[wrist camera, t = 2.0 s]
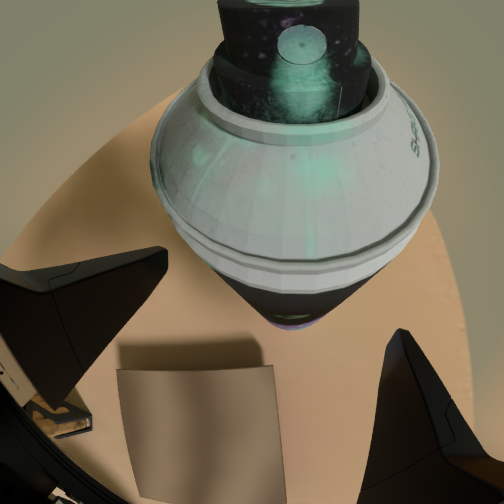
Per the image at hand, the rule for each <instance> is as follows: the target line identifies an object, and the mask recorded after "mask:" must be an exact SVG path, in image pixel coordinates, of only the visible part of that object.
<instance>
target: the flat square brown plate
mask: <svg viewBox="0 0 504 504" xmlns="http://www.w3.org/2000/svg"><path fill="white" fill-rule="evenodd" d="M116 372H117V382H118V391H119V399H120V406H121V413H122V420H123V426H124V431H125V437H126V442H127V447H128V452H129V456H130V461H131V465H132V469H133V473H134V477H135V481H136V484H137V488H138V491H139V495H140V497H143V498H147V499H152V500H156V501H161V502H167V503H172V504H287V497H286V486H285V476H284V465H283V455H282V445H281V435H280V425H279V415H278V406H277V396H276V387H275V377H274V368H273V365H266V366H255V367H243V368H229V369H209V370H138V369H116Z"/></svg>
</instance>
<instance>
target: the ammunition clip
mask: <svg viewBox="0 0 504 504" xmlns="http://www.w3.org/2000/svg"><path fill="white" fill-rule="evenodd" d="M31 400H32V402H33V421H34V422H35V423H36V424H37V425H38V426H39V427H40V428H41V429H42V430H43V431H44V432H45V433H46V434H47V435H48V437H54V438H56V439H60V438H64V437H69V436H73V435H77V434H81V433H85V432H89V431H92V414H90V413H88V412H86V411H83V410H81V409H79V408H77V407H75V406H73V405H71V404H69V403H67V402H65V401H63V402H62V403H61V405H60V406H59V407H58V409H57V410H56V411H53V410H52V409H51V408H50V407H49V406H48V405H47V404H46V403H45V402H44V401H43V399H42V398H41V397H40V396H39V395H38V394H37V393H36V394H35V395H34V396H33V397H32V398H31Z"/></svg>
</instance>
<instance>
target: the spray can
mask: <svg viewBox="0 0 504 504" xmlns="http://www.w3.org/2000/svg"><path fill="white" fill-rule="evenodd" d="M217 4H218V9H219V14H220V19H221V24H222V30H223V35H224V41H222V42H221V43H220V45H219V46H218V47H217V49H216V50H215V53H214V56H213V57H212V58H210V59H209V60H208V61H207V62H206V64H205V65H204V67H203V68H202V70H201V71H200V74H199V77H198V78H196V79H195V80H194V81H193V82H191V83H190V84H189V85H188V86H186V87H185V88H184V89H183V90H182V91H181V92H180V93H179V94H178V95H177V96H176V97H175V99H174V100H173V101H172V102H171V103H170V104H169V106H168V107H167V109H166V111H165V112H164V114H163V115H162V117H161V119H160V121H159V122H158V125H157V127H156V130H155V133H154V136H153V139H152V142H151V152H150V169H151V175H152V181H153V186H154V188H155V190H156V192H157V194H158V197H159V199H160V201H161V203H162V205H163V207H164V208H165V210H166V211H167V212H168V214H169V216H170V218H171V220H172V222H173V224H174V226H175V228H176V230H177V232H178V233H179V234H180V235H181V236H182V238H183V239H184V240H185V241H186V242H187V244H188V245H189V246H190V247H191V248H192V250H193V251H194V252H195V253H196V254H197V255H198V256H199V257H200V258H201V259H202V260H203V261H204V262H205V263H206V264H208V265H209V266H210V267H211V268H212V269H213V270H214V271H215V272H216V273H217V274H218V275H219V276H220V277H221V278H222V279H223V280H224V281H225V282H226V283H227V284H228V285H230V286H231V287H232V288H233V289H234V290H235V291H236V292H237V293H238V294H239V295H240V296H241V297H242V298H243V299H244V300H246V301H247V302H248V303H249V304H250V305H251V306H252V307H253V308H254V309H255V310H256V311H257V312H259V313H260V314H261V315H262V316H263V317H264V318H265V319H266V320H267V321H268V322H270V323H271V324H273V325H274V326H276V327H278V328H280V329H284V330H301V329H305V328H307V327H310V326H311V325H313V324H314V323H316V322H317V321H318V320H320V319H321V318H322V317H324V316H325V315H326V314H328V313H329V312H330V311H332V310H333V309H334V308H335V307H337V306H338V305H339V304H340V303H342V302H343V301H344V300H345V299H347V298H348V297H349V296H350V295H352V294H353V293H354V292H355V291H357V290H358V289H359V288H360V287H361V286H363V285H364V284H365V283H366V282H367V281H368V280H370V279H371V278H372V277H373V276H374V275H375V274H377V273H378V272H379V271H380V270H381V269H382V268H384V267H385V266H386V265H387V264H388V263H389V262H390V261H391V260H392V259H394V258H395V257H396V256H397V255H398V254H399V253H400V252H401V251H402V249H403V248H404V247H405V246H406V244H407V243H408V242H409V240H410V239H411V238H412V237H413V235H414V234H415V233H416V231H417V228H418V226H419V224H420V221H421V219H422V218H423V216H424V215H425V214H426V212H427V211H428V210H429V208H430V205H431V203H432V200H433V198H434V195H435V192H436V189H437V187H438V178H439V166H440V162H439V156H438V150H437V145H436V140H435V138H434V135H433V133H432V130H431V128H430V126H429V123H428V121H427V120H426V119H425V117H424V115H423V114H422V112H421V111H420V109H419V108H418V106H417V105H416V104H415V103H414V101H413V100H412V99H411V98H410V97H409V96H408V95H407V94H406V93H405V92H404V91H403V90H402V89H401V88H400V87H399V86H397V85H396V84H395V83H394V82H392V81H390V79H389V78H388V76H387V74H386V72H385V71H384V69H383V68H382V67H381V65H380V64H379V63H378V62H377V61H376V60H375V59H374V58H373V57H372V56H371V55H370V54H369V52H368V50H367V48H366V47H365V46H364V45H363V44H362V43H361V42H360V41H359V40H358V35H359V34H358V33H359V0H218V1H217Z"/></svg>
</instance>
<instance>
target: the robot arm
mask: <svg viewBox="0 0 504 504" xmlns="http://www.w3.org/2000/svg"><path fill="white" fill-rule="evenodd" d="M167 270H168V250H167V249H166V248H163V247H161V246H155V247H149V248H144V249H139V250H134V251H129V252H124V253H119V254H114V255H109V256H105V257H100V258H95V259H90V260H85V261H81V262H76V263H71V264H66V265H61V266H55V267H49V268H43V269H36V270H30V271H16V270H13V269H11V268H9V267H7V266H5V265H3V264H1V263H0V504H75V503H73V502H72V501H70V500H67V499H65V498H62V497H60V496H55V495H54V494H52V492H53V490H54V489H55V488H56V487H58V488H59V489H61V490H62V491H64V492H65V493H66V494H65V495H66V496H67V497H69V498H70V499H72V500H74V501H76V502H77V503H78V504H133V503H131V502H130V501H128V500H126V499H125V498H123V497H122V496H120V495H119V494H117V493H116V492H114V491H113V490H111V489H110V488H109V487H107V486H106V485H104V484H103V483H102V482H100V481H99V480H98V479H96V478H95V477H94V476H92V475H91V474H90V473H89V472H87V471H86V470H85V469H84V468H82V467H81V466H80V465H79V464H78V463H76V462H75V461H74V460H73V459H72V458H71V457H70V456H68V455H67V454H66V453H65V452H64V451H63V450H62V449H61V448H60V447H59V446H58V445H57V444H56V443H55V442H54V441H52V440H51V439H50V438H49V437H48V435H47V434H46V433H45V432H44V431H43V430H42V429H41V428H40V427H39V426H38V425H37V424H36V423H35V422H34V421H33V402H32V400H31V398H32V397H33V396H34V395H35V394H36V393H37V394H38V395H39V396H40V397H41V398H42V399H43V401H44V402H45V403H46V404H47V405H48V406H49V407H50V408H51V409H52V410H53V411H56V410H57V409H58V407H59V406H60V405H61V403H62V402H63V401H64V399H65V398H66V397H67V396H68V394H69V393H70V392H71V390H72V389H73V388H74V387H75V385H76V384H77V383H78V381H79V380H80V379H81V378H82V376H83V375H84V373H85V372H86V371H87V370H88V369H89V367H90V366H91V365H92V364H93V363H94V361H95V360H96V359H97V358H98V356H99V355H100V354H101V353H102V352H103V350H104V349H105V348H106V347H107V346H108V344H109V343H110V342H111V341H112V340H113V338H114V337H115V336H116V335H117V334H118V332H119V331H120V330H121V329H122V328H123V327H124V325H125V324H126V323H127V322H128V321H129V320H130V318H131V317H132V316H133V315H134V314H135V313H136V312H137V310H138V309H139V308H140V307H141V306H142V305H143V304H144V302H145V301H146V300H147V299H148V297H149V296H150V295H151V293H152V292H153V290H154V289H155V288H156V286H157V285H158V283H159V282H160V281H161V279H162V278H163V277H164V275H165V274H166V272H167ZM360 491H361V492H360V493H359V497H358V500H357V504H504V462H502V461H499V460H496V459H494V458H492V457H491V456H489V455H488V454H487V453H486V452H485V450H484V449H483V447H482V446H481V444H480V443H479V441H478V439H477V438H476V436H475V435H474V433H473V432H472V430H471V429H470V427H469V426H468V424H467V422H466V421H465V419H464V418H463V416H462V415H461V413H460V411H459V409H458V408H457V406H456V404H455V403H454V401H453V399H451V396H450V394H449V392H448V391H447V389H446V387H445V386H444V384H443V383H442V381H441V379H440V378H439V376H438V374H437V373H436V371H435V370H434V368H433V367H432V365H431V363H430V362H429V360H428V359H427V357H426V356H425V354H424V353H423V351H422V350H421V348H420V347H419V345H418V344H417V342H416V341H415V339H414V338H413V336H412V335H411V334H410V332H409V331H408V330H405V329H401V328H399V329H397V330H396V332H395V333H394V335H393V336H392V338H391V339H390V341H389V343H388V344H387V347H386V350H385V356H384V361H383V367H382V372H381V377H380V382H379V388H378V397H377V406H376V413H375V421H374V427H373V433H372V439H371V445H370V450H369V455H368V460H367V465H366V469H365V474H364V478H363V482H362V486H361V490H360Z"/></svg>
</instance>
